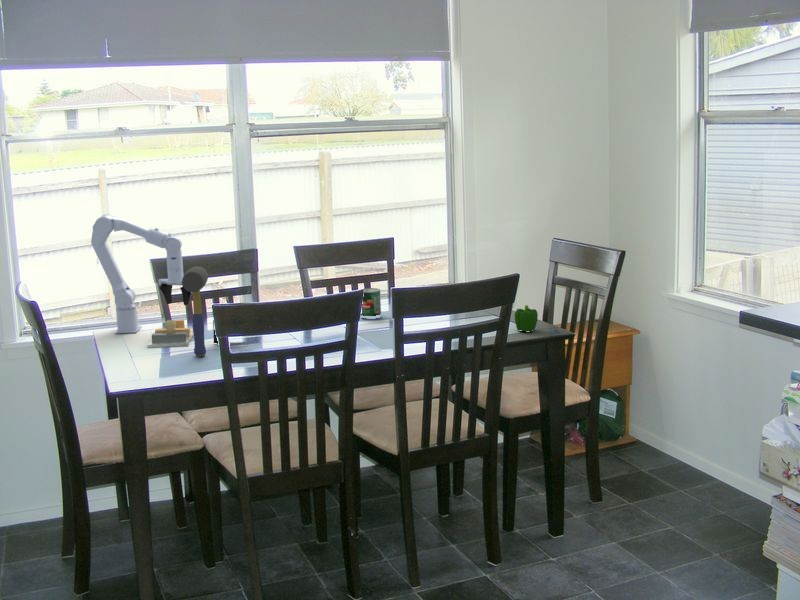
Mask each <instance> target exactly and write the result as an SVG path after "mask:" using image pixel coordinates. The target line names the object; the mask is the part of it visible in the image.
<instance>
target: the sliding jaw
mask: <svg viewBox="0 0 800 600" xmlns="http://www.w3.org/2000/svg"><path fill="white" fill-rule="evenodd" d="M173 320H175V319H172V320H171V319H170V320H169V319H168V320H167V321H173ZM175 321H176V332H187V336H189V335H190V328H191V327H185V319H176V320H175ZM154 333H166V327H165V328H156V329H155V330H154Z"/></svg>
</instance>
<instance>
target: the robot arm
mask: <svg viewBox="0 0 800 600" xmlns="http://www.w3.org/2000/svg"><path fill="white" fill-rule="evenodd" d="M119 231H125V232H127V233H130V234H133V235H135V236H138V237H142V238H144V240H145V242H146V243H147V244H151V245H153V246H155V247H158V248H161V249H165V251H166V268H167V269H166V270H167V278H160V279H158V285H160V286H159V290H160V291H161V293H162V294H163V296H164V299H165V302H166V305H169V304H172V303H173V298H172V295H173V294H172V292H173V291H172V290H173V286H181V287H180V291H181V294H182V301H183V305H184V306H187V305H189V303H190V297H191V295H192V292H189V291H187V290H186V289H184V287H183V285H182V279H183V276H184V264H183V256H182V253H183V252H182V245H183V242H182V239H181V238H180V237H179V236H177V235H175V234H173V235H172V233H169V232H168V233H166V232H164V231H161V230H160V229H159V228H158V227H151V228H149V229H147V228H145V227H142V226H140V225H138V224H136V223H134V222H131V221H128V220H126V219H124V218H121V217H118V216H116V215H115V216H113V215H112V214H103V215H102V216H100V217H99V218H97V219H96V221H95V222H94V224H93V225H92V233H91V239H90V243H91V246H92V248H93V251H94V252H95V254H96V256H97V259H98V260H99V263H100V265H101V267H102V269H103V271H104V273H105V275H106V277H107V279H108V281H109V283H110V286H111V287H112V288H111V289H112V294H113V296H114V304H115V313H116V325H117V326H116V327H117V330H115V331H114V334H134V333H135V334H136V333H137V332H138V331H140V329H141V328H142V326H141V325H139V317H138V310H137V306H136V304H135V303H134V302H135V300H136V293H135V292H134V290H133V289H131V288H130V286H129V285H128V283H127V282H126V281H125V279H124V277H123V275H122V272H121V271H120V268H119V267H118V264H117V262H116V260H115V258H114V256H113V254H112V252H111V250H110V248H109V246H108V243H107V242H108V238H109V237H110V234H111V233H112V232H119Z"/></svg>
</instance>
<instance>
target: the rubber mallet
mask: <svg viewBox="0 0 800 600" xmlns="http://www.w3.org/2000/svg"><path fill="white" fill-rule="evenodd" d="M183 275H184V276H183V279H182V285H183V286H182V287H184V289H186V290H187V291H189V292H191V294H192V304H193V305H192V306H193V307H192V308H193V309H192V310H193V313H192V314H193V315H192V328H193V333H194V336H193V341H194V349H193V353H194V354H195V356H196V357H199V358H201V356H202V357H205V356H206V352H207V347H206V344H205V321H204V316H203V313H202V302H201V301H202V299H201V290H202V289H203V288H204V287H205V286H206V284H207V282H208V279H209V274H208V272H207V270H206V269H205V268H204V267H202V266H199V265H198V266H197V265H196V266H193V267H190V268H189V269H188V270H186V272H185V273H183ZM204 355H205V356H204Z"/></svg>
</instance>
